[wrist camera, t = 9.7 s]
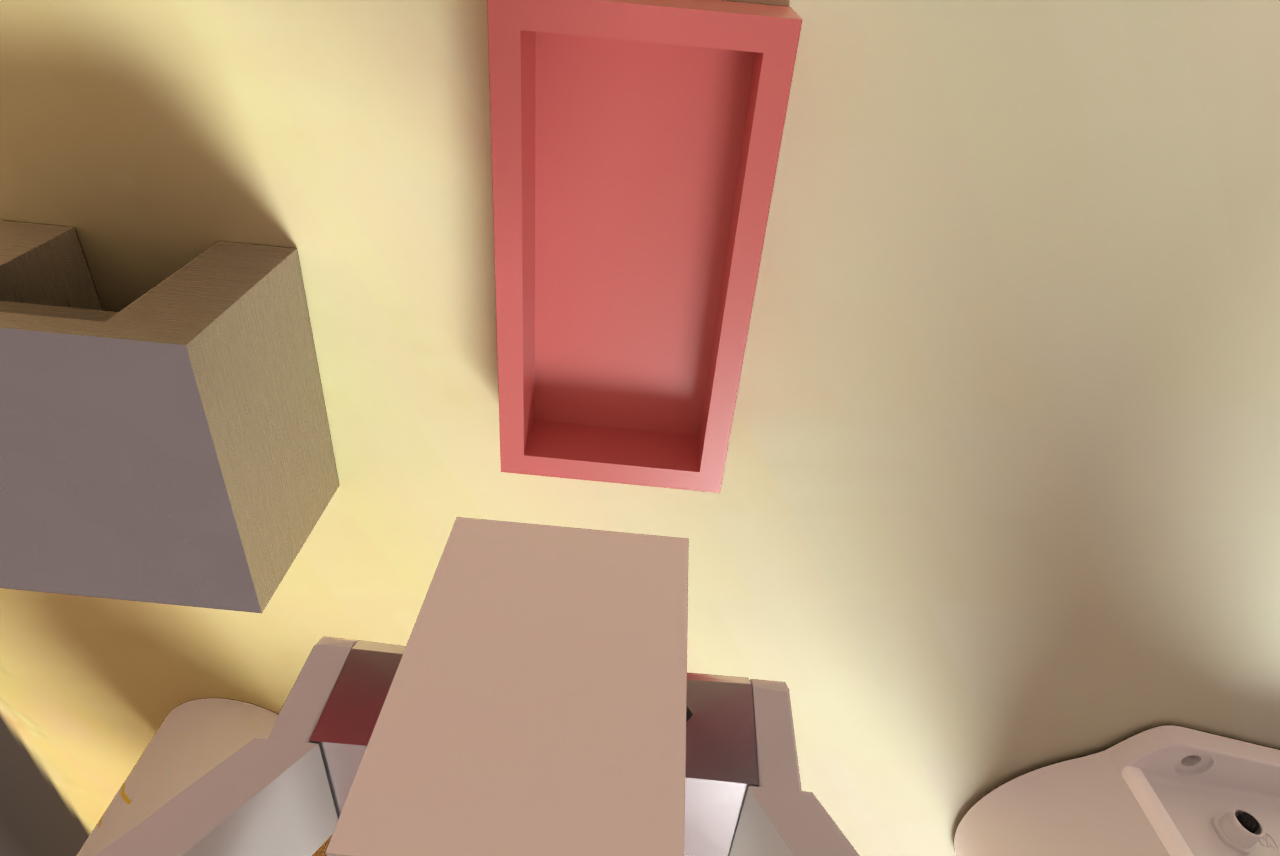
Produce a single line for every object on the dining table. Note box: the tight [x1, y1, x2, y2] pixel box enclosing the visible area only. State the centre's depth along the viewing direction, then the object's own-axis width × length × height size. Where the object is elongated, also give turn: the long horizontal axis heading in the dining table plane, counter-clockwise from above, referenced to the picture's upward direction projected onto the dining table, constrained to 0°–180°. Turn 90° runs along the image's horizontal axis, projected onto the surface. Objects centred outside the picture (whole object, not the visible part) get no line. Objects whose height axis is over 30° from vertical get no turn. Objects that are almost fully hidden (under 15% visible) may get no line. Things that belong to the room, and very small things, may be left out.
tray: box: [487, 0, 802, 493], centre depth 24 cm, size 8×15×3 cm, turn 176°
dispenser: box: [0, 220, 339, 613], centre depth 26 cm, size 10×10×7 cm
